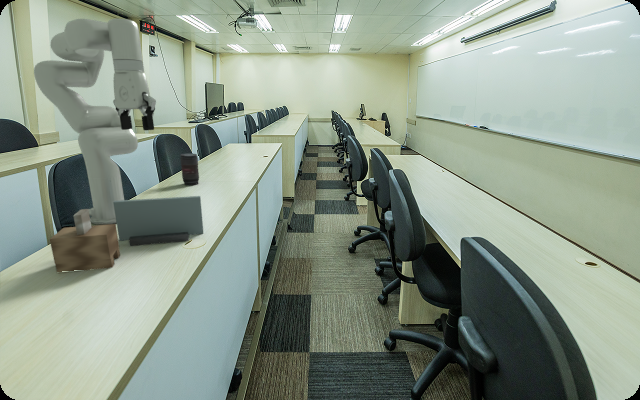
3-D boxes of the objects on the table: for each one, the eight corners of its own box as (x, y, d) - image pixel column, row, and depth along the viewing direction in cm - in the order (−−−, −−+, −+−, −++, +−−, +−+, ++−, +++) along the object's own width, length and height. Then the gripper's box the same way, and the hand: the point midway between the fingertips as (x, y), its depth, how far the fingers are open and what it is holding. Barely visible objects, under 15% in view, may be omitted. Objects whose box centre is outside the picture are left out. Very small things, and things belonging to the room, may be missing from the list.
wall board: (119, 240, 106) (113, 202, 102) (120, 238, 107) (114, 200, 104) (203, 233, 112) (200, 197, 108) (203, 231, 113) (200, 195, 110)
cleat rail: (129, 246, 102) (128, 239, 101) (131, 243, 104) (130, 236, 103) (188, 240, 106) (187, 234, 105) (189, 238, 108) (188, 231, 107)
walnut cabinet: (56, 273, 86) (45, 218, 82) (70, 259, 93) (59, 209, 89) (112, 268, 89) (103, 215, 85) (120, 255, 96) (112, 205, 92)
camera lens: (185, 186, 173) (182, 156, 169) (181, 183, 179) (178, 154, 175) (201, 184, 177) (199, 154, 173) (197, 181, 183) (194, 152, 179)
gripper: (97, 68, 100) (107, 129, 105) (137, 65, 92) (146, 131, 97) (122, 70, 107) (130, 128, 111) (161, 67, 99) (168, 129, 103)
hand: (137, 129), depth 104 cm, fingers open, 9 cm apart
